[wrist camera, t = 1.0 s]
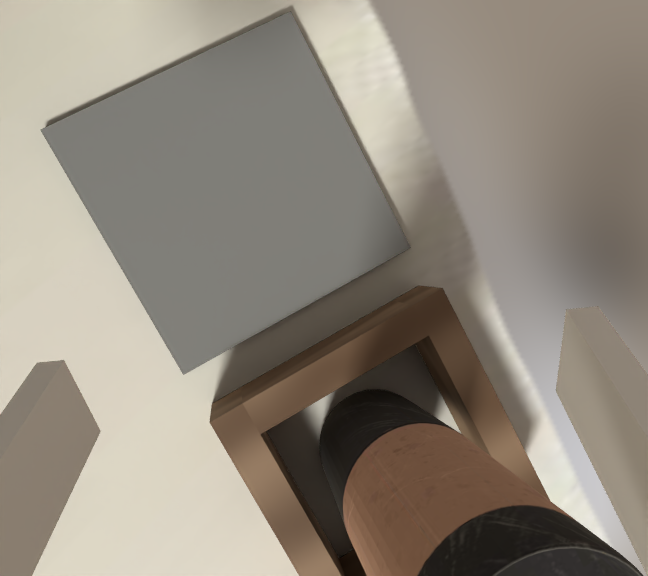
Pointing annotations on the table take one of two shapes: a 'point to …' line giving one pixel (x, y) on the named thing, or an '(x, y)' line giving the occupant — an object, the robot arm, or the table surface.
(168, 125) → the rubber mat
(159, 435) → the table surface
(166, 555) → the table surface
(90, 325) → the table surface
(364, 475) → the travel mug
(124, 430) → the table surface
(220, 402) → the frame
